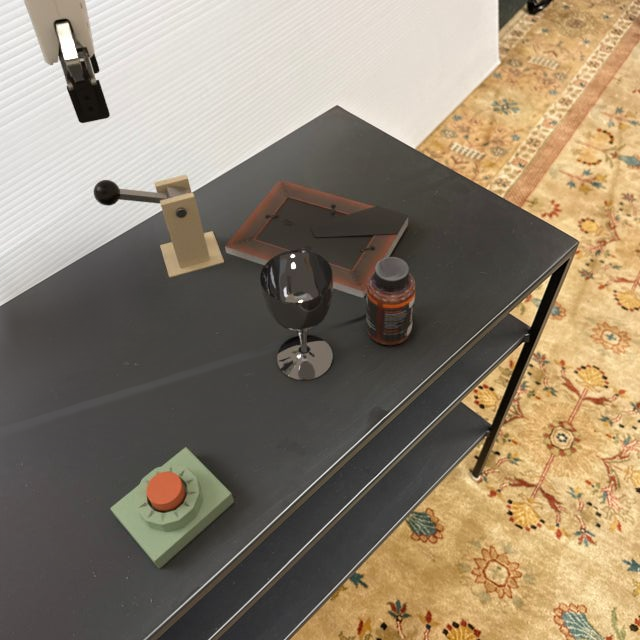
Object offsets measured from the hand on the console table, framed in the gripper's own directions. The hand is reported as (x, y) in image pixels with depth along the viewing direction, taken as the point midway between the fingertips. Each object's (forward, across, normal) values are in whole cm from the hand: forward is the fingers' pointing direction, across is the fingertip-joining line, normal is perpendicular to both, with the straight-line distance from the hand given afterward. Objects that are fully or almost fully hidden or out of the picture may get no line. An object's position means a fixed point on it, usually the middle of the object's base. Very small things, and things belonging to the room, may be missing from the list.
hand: (90, 95), depth 70 cm
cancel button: (+25, +36, -3) cm, 44 cm away
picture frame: (+28, +2, +25) cm, 38 cm away
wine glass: (+28, +22, +16) cm, 39 cm away
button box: (+28, +36, -3) cm, 46 cm away
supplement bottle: (+28, +21, +28) cm, 45 cm away
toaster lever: (+17, -1, +1) cm, 17 cm away
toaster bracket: (+28, -1, +6) cm, 29 cm away
